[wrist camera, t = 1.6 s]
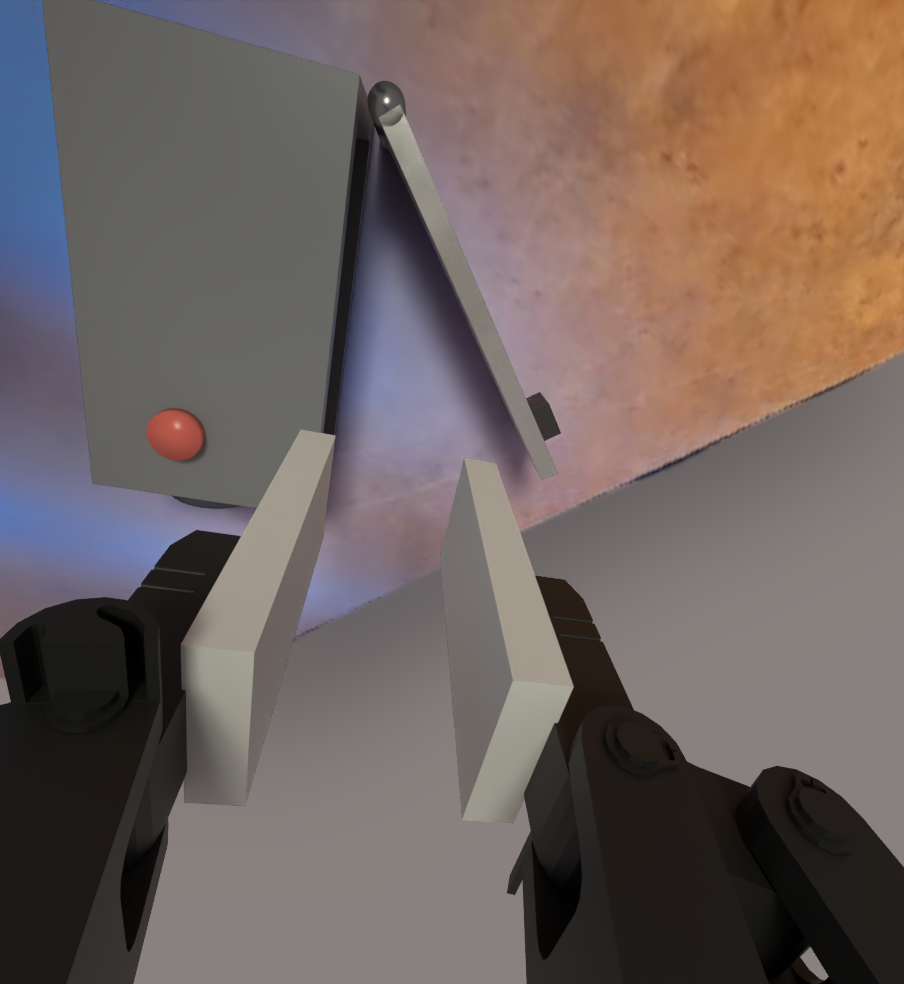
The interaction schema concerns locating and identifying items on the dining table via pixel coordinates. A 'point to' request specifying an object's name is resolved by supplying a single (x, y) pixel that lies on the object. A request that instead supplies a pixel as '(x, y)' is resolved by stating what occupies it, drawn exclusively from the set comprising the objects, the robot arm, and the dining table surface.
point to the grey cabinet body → (204, 246)
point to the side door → (461, 275)
